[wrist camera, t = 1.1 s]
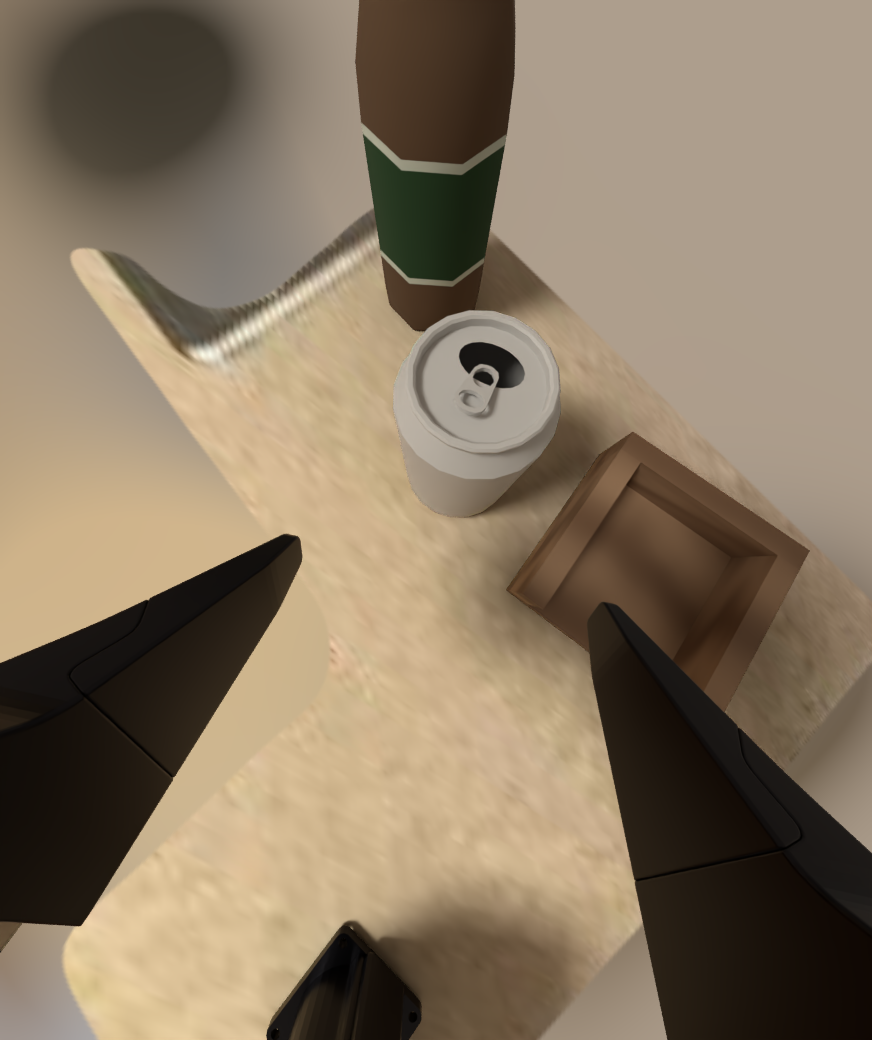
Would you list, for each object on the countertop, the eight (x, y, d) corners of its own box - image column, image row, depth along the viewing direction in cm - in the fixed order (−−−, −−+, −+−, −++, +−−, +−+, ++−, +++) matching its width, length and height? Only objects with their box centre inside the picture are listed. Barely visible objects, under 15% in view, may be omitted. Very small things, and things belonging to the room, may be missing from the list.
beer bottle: (454, 352, 26) (783, -2393, 2) (370, 314, 26) (-231, -2367, 2) (493, 279, 27) (987, -1948, 3) (412, 244, 27) (302, -1970, 3)
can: (520, 452, 24) (608, 339, 12) (479, 537, 23) (532, 501, 11) (435, 410, 25) (442, 262, 13) (390, 492, 24) (351, 411, 12)
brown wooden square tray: (659, 705, 21) (712, 735, 18) (506, 589, 22) (522, 593, 19) (745, 554, 23) (809, 550, 19) (599, 454, 24) (632, 431, 20)
